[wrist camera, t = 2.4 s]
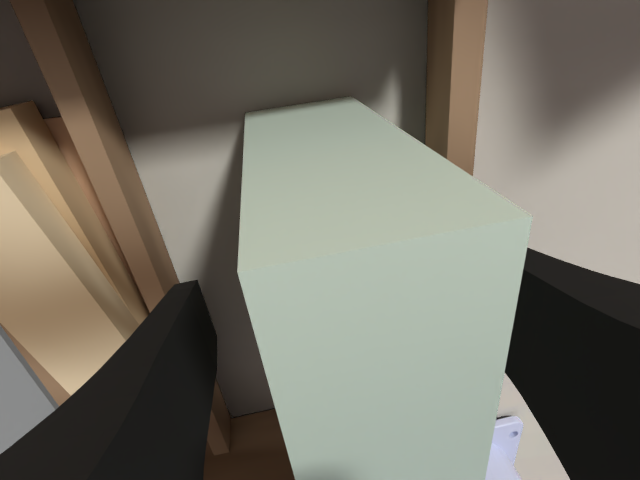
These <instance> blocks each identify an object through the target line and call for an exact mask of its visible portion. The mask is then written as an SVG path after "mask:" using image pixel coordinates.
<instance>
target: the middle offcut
mask: <svg viewBox="0 0 640 480" xmlns="http://www.w3.org/2000/svg"><path fill="white" fill-rule="evenodd" d="M13 151H16V152H17V154H18V155H19V157H20V158H21V159H22V161H23V162H24V164H25V165H26V166H27V168H28V169H29V171H30V172H31V173H32V175H33V176H34V178H35V179H36V180H37V182H38V183H39V185H40V186H41V187H42V189H43V190H44V192H45V193H46V194H47V196H48V197H49V199H50V200H51V202H52V203H53V204H54V206H55V207H56V209H57V210H58V211H59V213H60V214H61V216H62V217H63V218H64V220H65V221H66V223H67V224H68V225H69V227H70V228H71V230H72V231H73V232H74V234H75V235H76V237H77V238H78V239H79V241H80V242H81V244H82V245H83V246H84V248H85V249H86V251H87V252H88V254H89V255H90V256H91V258H92V259H93V261H94V262H95V263H96V265H97V266H98V268H99V269H100V270H101V272H102V273H103V275H104V276H105V277H106V279H107V280H108V282H109V283H110V284H111V286H112V287H113V289H114V290H115V291H116V293H117V294H118V296H119V297H120V299H121V300H122V301H123V303H124V304H125V306H126V307H127V308H128V310H129V311H130V313H131V314H132V315H133V317H134V318H135V320H136V321H137V322H138V324H139V325H140V324H141V323H142V322H143V321H144V320H145V318H146V317H147V316H148V315H149V314H150V312H149V310H148V308H147V306H146V304H145V302H144V300H143V299H142V297H141V295H140V293H139V291H138V290H137V288H136V286H135V284H134V282H133V281H132V279H131V277H130V275H129V273H128V272H127V270H126V268H125V266H124V264H123V263H122V261H121V259H120V257H119V255H118V253H117V252H116V250H115V248H114V246H113V244H112V243H111V241H110V239H109V237H108V235H107V234H106V232H105V230H104V228H103V226H102V225H101V223H100V221H99V219H98V217H97V216H96V214H95V212H94V210H93V208H92V207H91V205H90V203H89V201H88V199H87V197H86V196H85V194H84V192H83V190H82V188H81V187H80V185H79V183H78V181H77V179H76V178H75V176H74V174H73V172H72V170H71V169H70V167H69V165H68V163H67V161H66V160H65V158H64V156H63V154H62V152H61V151H60V149H59V147H58V145H57V143H56V142H55V140H54V138H53V136H52V134H51V132H50V131H49V129H48V127H47V125H46V123H45V122H44V120H43V118H42V116H41V114H40V113H39V111H38V109H37V107H36V105H35V104H34V102H33V101H29V102H24V103H20V104H15V105H11V106H6V107H2V108H0V155H3V154H6V153H10V152H13Z"/></svg>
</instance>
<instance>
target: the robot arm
mask: <svg viewBox="0 0 640 480" xmlns="http://www.w3.org/2000/svg"><path fill="white" fill-rule="evenodd" d="M216 371H217V335H216V332H215V329H214V326H213V323H212V321H211V318H210V315H209V312H208V309H207V306H206V303H205V300H204V298H203V295H202V292H201V289H200V286H199V283H198V280H195V281H189V282H184V283H179V284H174V285H173V287H172V288H171V289H170V290H169V291H168V292H167V293H166V295H165V296H164V297H163V298H162V299H161V301H160V302H159V303H158V304H157V305H156V307H155V308H154V309H153V310H152V311H151V313H150V314H149V315H148V316H147V317H146V318H145V320H144V321H143V322H142V323H141V324H140V325H139V327H138V328H137V329H136V330H135V331H134V332H133V334H132V335H131V336H130V337H129V338H128V339H127V340H126V341H125V342H124V343H123V345H122V346H121V347H120V348H119V349H118V350H117V351H116V352H115V353H114V354H113V355H112V356H111V357H110V358H109V359H108V361H107V362H106V363H105V364H104V365H103V366H102V367H101V368H100V369H99V370H98V371H97V372H96V373H95V374H94V375H93V376H92V377H91V378H90V379H89V380H88V381H87V382H86V383H85V384H84V385H82V386H81V387H80V388H79V389H78V390H77V391H76V392H75V393H74V394H73V395H71V396H70V397H69V398H68V399H67V400H66V401H65V402H64V403H63V404H62V405H60V406H59V407H58V408H57V409H56V410H55V411H53V412H52V413H51V414H50V415H49V416H47V417H46V418H45V419H44V420H42V421H41V422H40V423H39V424H37V425H36V426H35V427H34V428H33V429H31V430H30V431H29V432H28V433H26V434H25V435H24V436H23V437H21V438H20V439H19V440H18V441H16V442H15V443H14V444H13V445H12V446H10V447H9V448H8V449H6V450H5V451H4V452H3V453H1V454H0V480H203V475H204V462H205V451H206V444H207V437H208V430H209V422H210V415H211V408H212V401H213V394H214V386H215V379H216ZM505 373H506V374H507V376H508V377H509V378H510V380H511V381H512V382H513V384H514V385H515V387H516V388H517V390H518V391H519V393H520V394H521V396H522V397H523V399H524V400H525V402H526V404H527V405H528V407H529V409H530V410H531V412H532V414H533V415H534V417H535V419H536V420H537V422H538V423H539V425H540V427H541V428H542V430H543V432H544V434H545V435H546V437H547V439H548V441H549V442H550V444H551V446H552V448H553V449H554V451H555V453H556V455H557V456H558V458H559V460H560V462H561V463H562V465H563V467H564V469H565V471H566V472H567V474H568V476H569V478H570V480H640V284H637V283H633V282H630V281H626V280H622V279H619V278H615V277H611V276H608V275H604V274H601V273H598V272H594V271H591V270H588V269H585V268H582V267H579V266H576V265H573V264H570V263H567V262H564V261H562V260H559V259H556V258H553V257H551V256H548V255H545V254H543V253H540V252H537V251H535V250H532V249H530V248H527V251H526V257H525V262H524V268H523V273H522V279H521V284H520V290H519V295H518V301H517V306H516V312H515V317H514V323H513V328H512V334H511V339H510V345H509V351H508V356H507V362H506V367H505ZM522 429H523V423H522V421H521V420H520V418H519V417H517V416H510V417H506V418H501V419H497V420H496V422H495V428H494V433H493V439H492V444H491V450H490V455H489V461H488V466H487V472H486V477H485V480H522V479H521V477H520V476H519V474H518V472H517V471H516V469H515V468H514V462H515V458H516V454H517V449H518V445H519V441H520V437H521V433H522Z"/></svg>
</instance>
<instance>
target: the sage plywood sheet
mask: <svg viewBox="0 0 640 480" xmlns="http://www.w3.org/2000/svg"><path fill="white" fill-rule="evenodd" d="M532 218H533V216H532V215H530V214H529V213H527V212H526V211H524V210H523V209H521V208H520V207H518V206H517V205H515V204H514V203H512V202H511V201H509V200H508V199H506V198H505V197H503V196H502V195H500V194H499V193H497V192H496V191H494V190H493V189H491V188H490V187H488V186H486V185H485V184H483V183H482V182H480V181H479V180H477V179H476V178H474V177H473V176H471V175H470V174H468V173H467V172H465V171H464V170H462V169H461V168H459V167H458V166H456V165H455V164H453V163H452V162H450V161H449V160H447V159H446V158H444V157H443V156H441V155H440V154H438V153H436V152H435V151H433V150H432V149H430V148H429V147H427V146H426V145H424V144H423V143H421V142H420V141H418V140H417V139H415V138H414V137H412V136H411V135H409V134H408V133H406V132H405V131H403V130H402V129H400V128H399V127H397V126H396V125H394V124H393V123H391V122H390V121H388V120H386V119H385V118H383V117H382V116H380V115H379V114H377V113H376V112H374V111H373V110H371V109H370V108H368V107H367V106H365V105H364V104H362V103H361V102H359V101H358V100H356V99H355V98H353V97H352V96H349V97H343V98H336V99H330V100H323V101H317V102H311V103H304V104H298V105H291V106H285V107H279V108H272V109H266V110H259V111H253V112H247V113H245V128H244V148H243V168H242V188H241V208H240V228H239V249H238V269H237V273H238V276H239V280H240V284H241V287H242V291H243V294H244V298H245V302H246V305H247V309H248V312H249V316H250V320H251V323H252V327H253V330H254V334H255V337H256V341H257V345H258V348H259V352H260V355H261V359H262V363H263V366H264V370H265V373H266V377H267V380H268V384H269V388H270V391H271V395H272V398H273V402H274V406H275V409H276V413H277V416H278V420H279V424H280V427H281V431H282V434H283V438H284V441H285V445H286V449H287V452H288V456H289V459H290V463H291V467H292V470H293V474H294V477H295V480H485V477H486V472H487V466H488V461H489V455H490V450H491V444H492V439H493V433H494V428H495V422H496V417H497V411H498V406H499V400H500V395H501V389H502V384H503V378H504V373H505V367H506V362H507V356H508V351H509V345H510V339H511V334H512V328H513V323H514V317H515V312H516V306H517V301H518V295H519V290H520V284H521V279H522V273H523V268H524V262H525V257H526V251H527V246H528V240H529V235H530V229H531V224H532Z"/></svg>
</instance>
